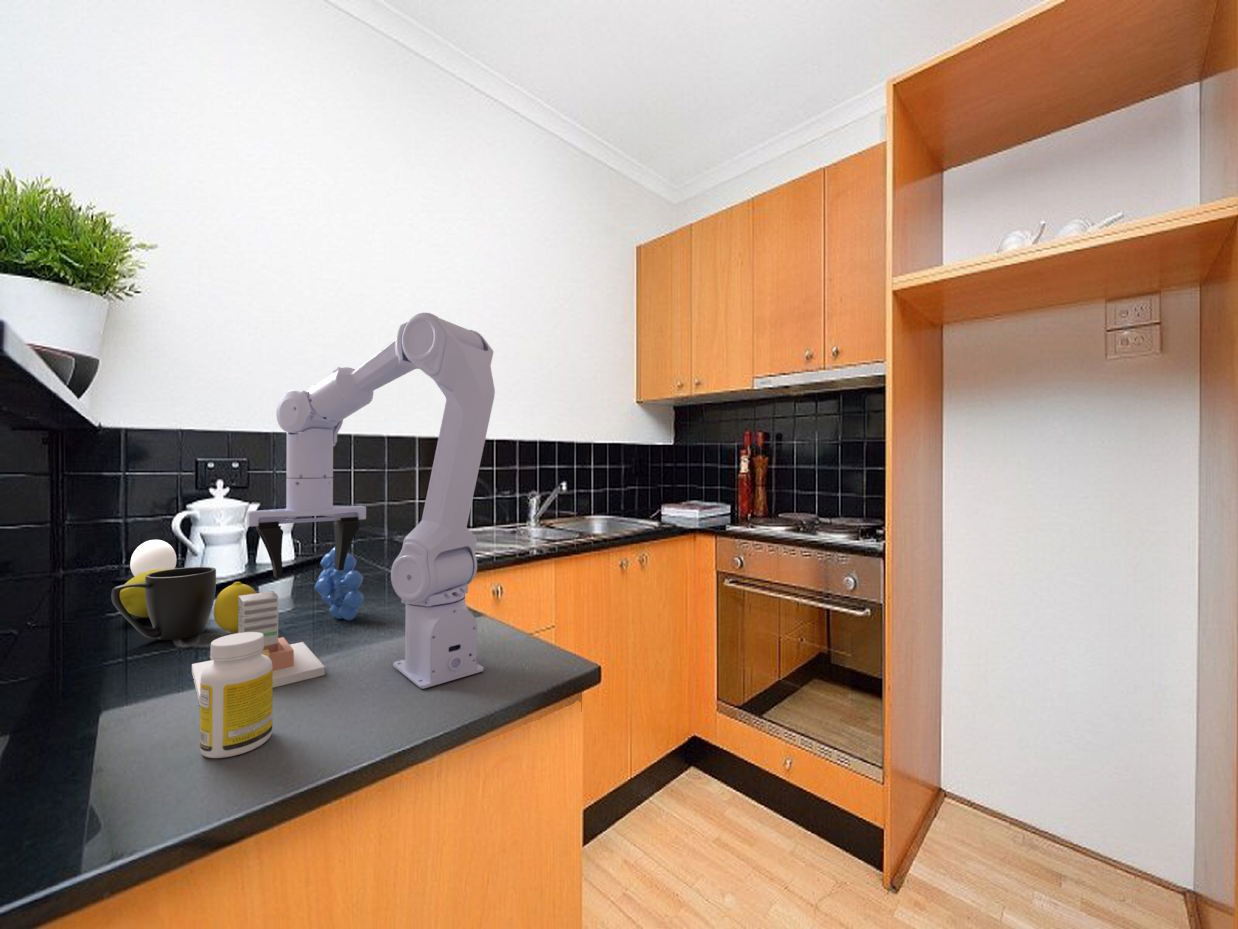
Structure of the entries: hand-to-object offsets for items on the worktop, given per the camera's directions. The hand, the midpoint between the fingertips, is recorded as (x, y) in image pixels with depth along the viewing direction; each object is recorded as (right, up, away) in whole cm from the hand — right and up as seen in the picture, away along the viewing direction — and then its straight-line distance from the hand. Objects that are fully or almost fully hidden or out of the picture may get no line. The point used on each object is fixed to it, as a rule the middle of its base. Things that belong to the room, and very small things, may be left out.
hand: (309, 572), depth 74 cm
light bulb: (-47, -10, +27) cm, 55 cm away
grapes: (-3, -11, +12) cm, 16 cm away
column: (0, -7, -10) cm, 12 cm away
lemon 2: (-14, -11, +5) cm, 18 cm away
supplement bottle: (+9, -11, -26) cm, 29 cm away
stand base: (0, -10, -10) cm, 14 cm away
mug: (-23, -11, +3) cm, 26 cm away
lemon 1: (-34, -11, +13) cm, 38 cm away
